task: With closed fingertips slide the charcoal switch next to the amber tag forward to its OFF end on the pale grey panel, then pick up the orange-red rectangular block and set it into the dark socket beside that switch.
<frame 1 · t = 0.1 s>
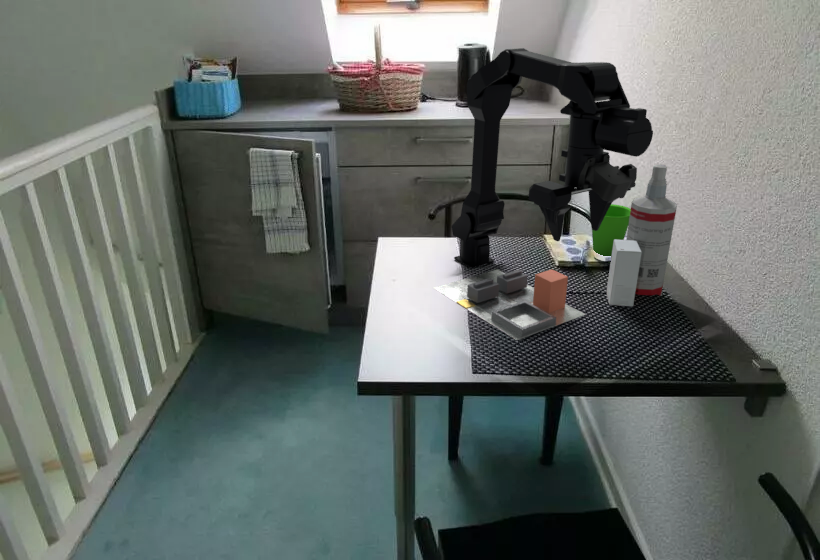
hand: (576, 235, 103), 15 cm above the table, fingers open, 9 cm apart
spray bottle: (639, 294, 115), on the table
orange-red rectangular block: (548, 305, 108), point 1 cm above the table, touching panel
toggle B: (483, 289, 110), point 3 cm above the table, slide at 0.0 cm
toggle A: (512, 280, 113), point 3 cm above the table, slide at 0.0 cm
panel: (505, 307, 110), on the table
skincare box: (618, 306, 111), on the table
cup: (605, 258, 132), on the table
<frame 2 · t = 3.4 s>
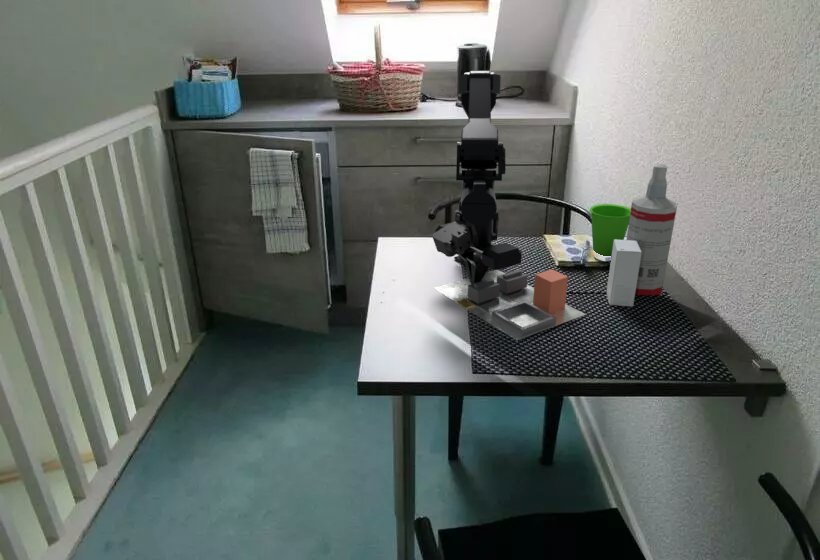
hand: (474, 286, 112), 3 cm above the table, fingers closed
toggle B: (483, 289, 110), point 3 cm above the table, slide at 0.2 cm, touching gripper
everything else where it was.
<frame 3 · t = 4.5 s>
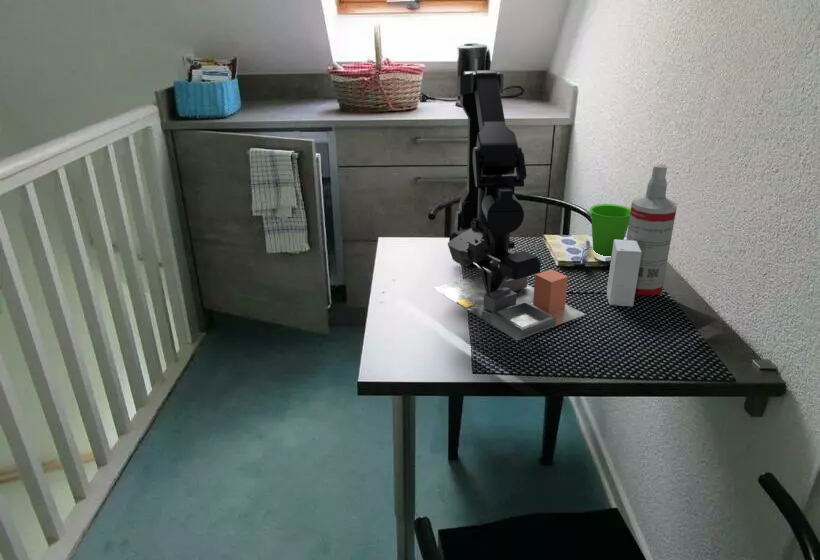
hand: (490, 295, 108), 3 cm above the table, fingers closed
toggle B: (500, 298, 106), point 3 cm above the table, slide at 4.8 cm, touching gripper
everything else where it was.
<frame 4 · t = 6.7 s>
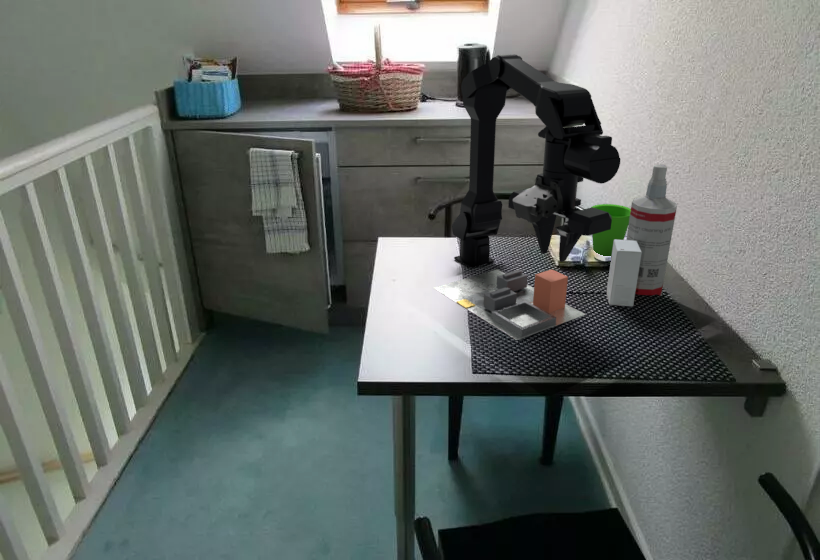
hand: (553, 257, 104), 11 cm above the table, fingers open, 4 cm apart
toggle B: (500, 298, 106), point 3 cm above the table, slide at 4.8 cm
everything else where it was.
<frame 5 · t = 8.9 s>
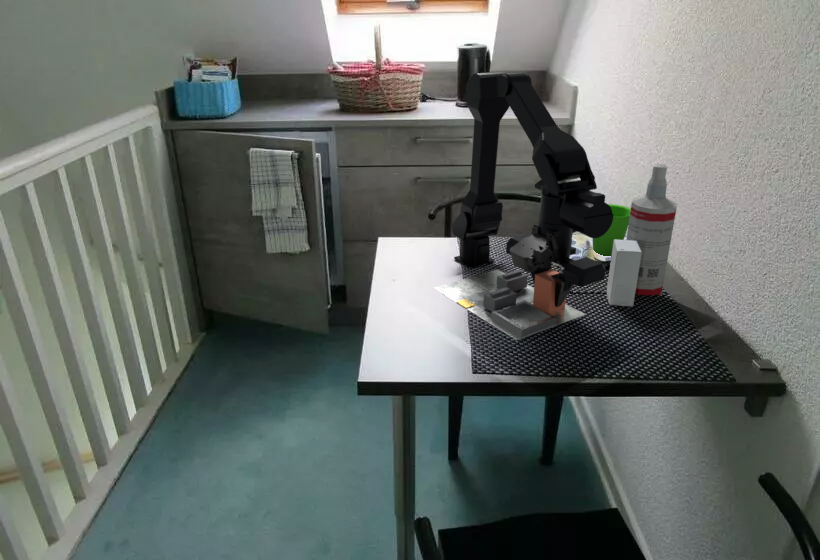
hand: (549, 301, 107), 2 cm above the table, fingers closed on orange-red rectangular block, 4 cm apart
orange-red rectangular block: (548, 305, 108), point 1 cm above the table, touching gripper, panel
everything else where it was.
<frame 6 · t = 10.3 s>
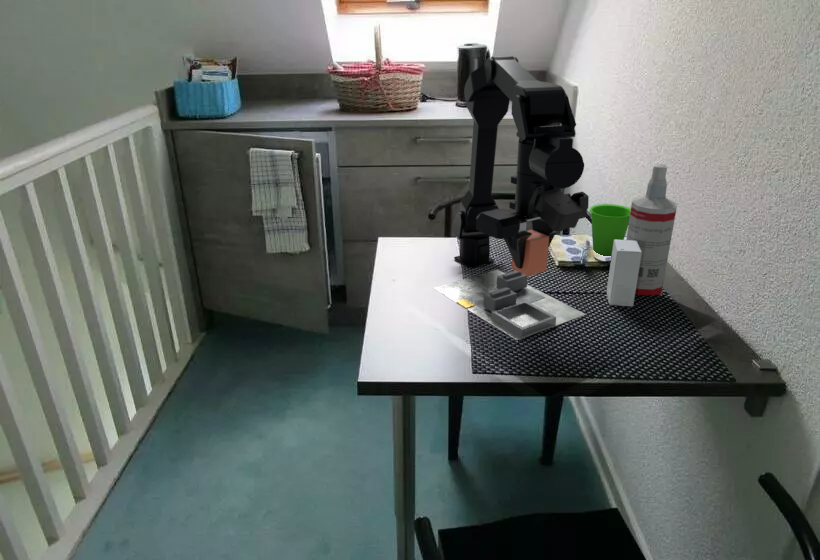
hand: (529, 265, 98), 12 cm above the table, fingers closed on orange-red rectangular block, 4 cm apart
orange-red rectangular block: (528, 269, 98), point 11 cm above the table, touching gripper
everything else where it was.
when the fingers open (4 cm above the table, at t = 12.1 s): orange-red rectangular block drops 1 cm, resting on panel.
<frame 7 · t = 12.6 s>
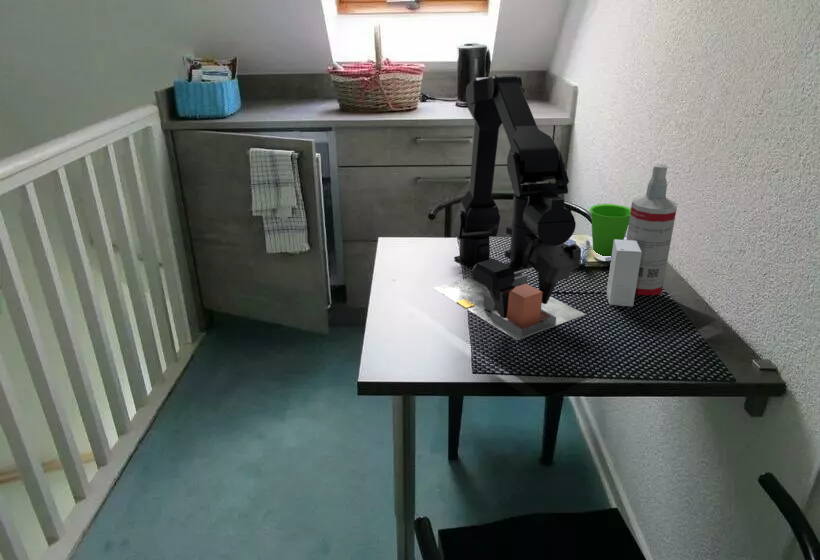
hand: (523, 310, 101), 4 cm above the table, fingers open, 9 cm apart
orange-red rectangular block: (523, 322, 102), point 1 cm above the table, touching panel
everything else where it was.
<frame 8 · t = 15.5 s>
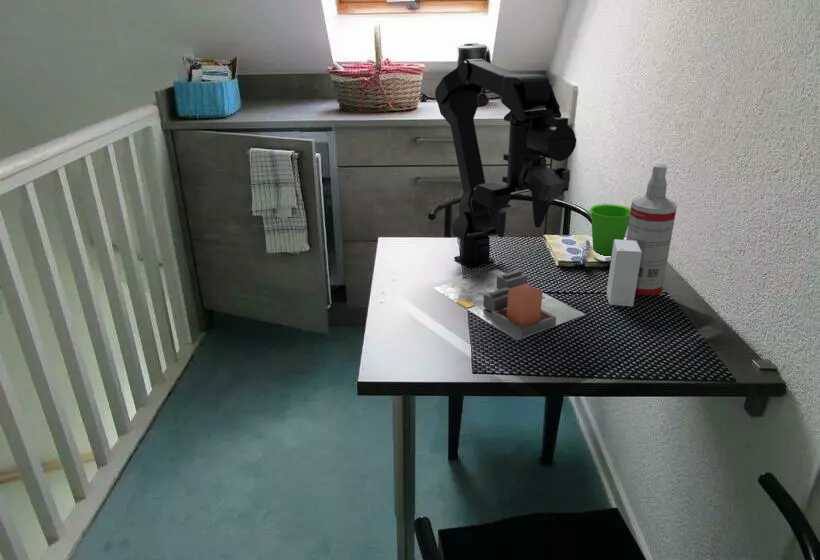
hand: (519, 232, 113), 12 cm above the table, fingers open, 9 cm apart
nothing on the table moved.
at the end: toggle B slide at 4.8 cm; orange-red rectangular block 0.0 cm from the target spot on the panel, point 1.5 cm above the panel's base; orange-red rectangular block tilted 0° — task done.
